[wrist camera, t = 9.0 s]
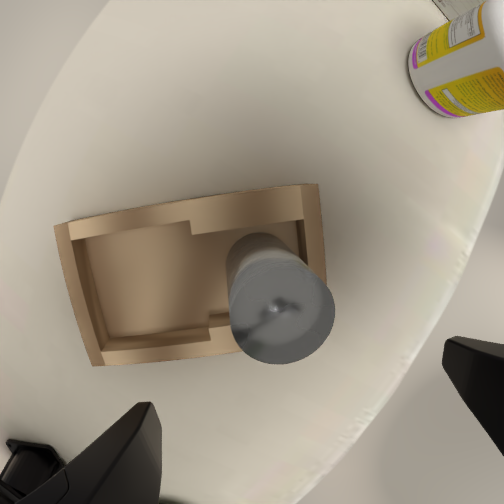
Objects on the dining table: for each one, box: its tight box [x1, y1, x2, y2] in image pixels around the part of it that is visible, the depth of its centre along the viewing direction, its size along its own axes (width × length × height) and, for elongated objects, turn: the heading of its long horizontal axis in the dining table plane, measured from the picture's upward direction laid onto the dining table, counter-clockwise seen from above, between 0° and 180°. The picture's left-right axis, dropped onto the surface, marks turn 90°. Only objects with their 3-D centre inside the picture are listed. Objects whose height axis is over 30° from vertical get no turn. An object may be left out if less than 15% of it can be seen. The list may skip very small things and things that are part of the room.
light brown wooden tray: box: [54, 184, 327, 366], centre depth 19 cm, size 15×9×2 cm, turn 97°
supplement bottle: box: [408, 0, 504, 118], centre depth 13 cm, size 7×7×13 cm
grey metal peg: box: [226, 232, 335, 364], centre depth 16 cm, size 4×4×8 cm
